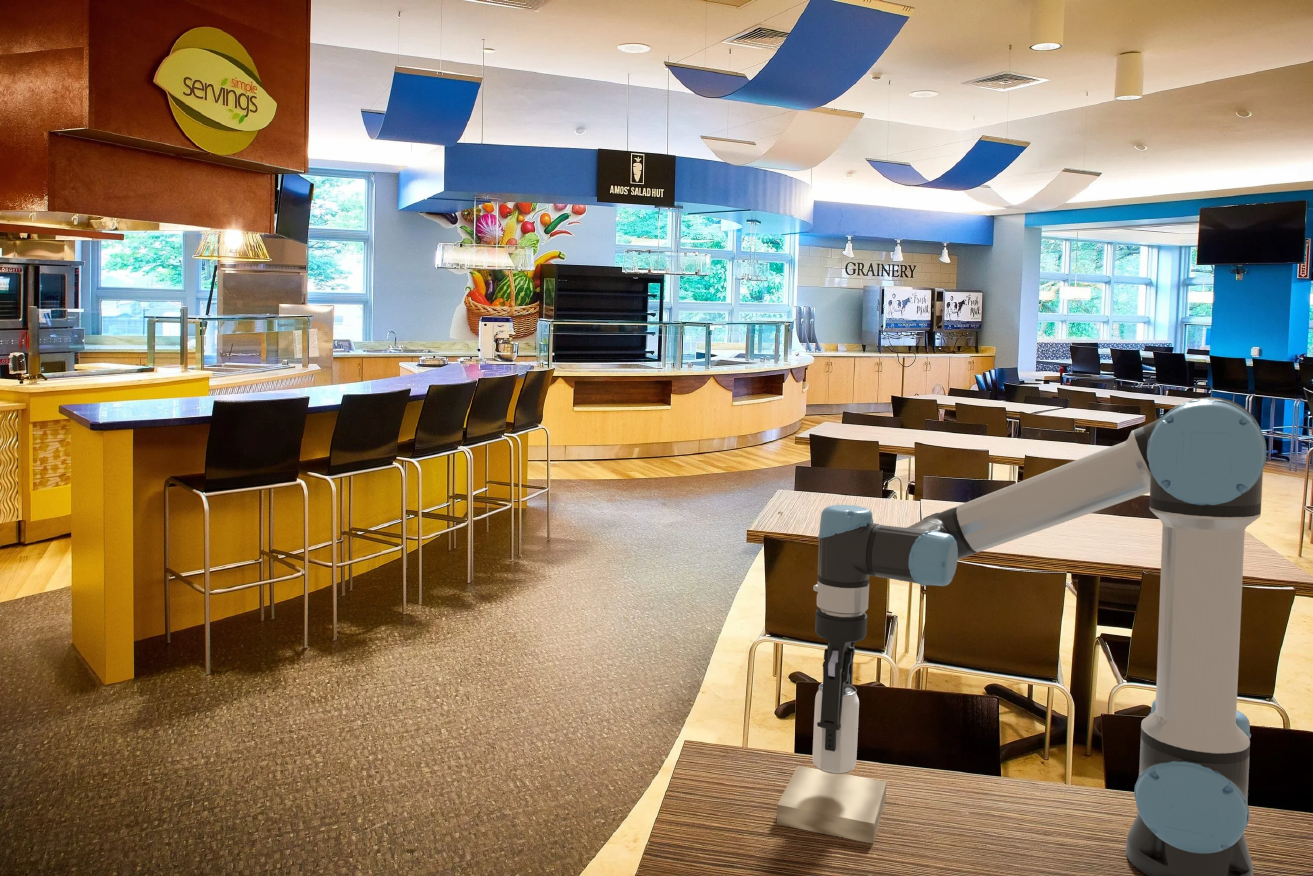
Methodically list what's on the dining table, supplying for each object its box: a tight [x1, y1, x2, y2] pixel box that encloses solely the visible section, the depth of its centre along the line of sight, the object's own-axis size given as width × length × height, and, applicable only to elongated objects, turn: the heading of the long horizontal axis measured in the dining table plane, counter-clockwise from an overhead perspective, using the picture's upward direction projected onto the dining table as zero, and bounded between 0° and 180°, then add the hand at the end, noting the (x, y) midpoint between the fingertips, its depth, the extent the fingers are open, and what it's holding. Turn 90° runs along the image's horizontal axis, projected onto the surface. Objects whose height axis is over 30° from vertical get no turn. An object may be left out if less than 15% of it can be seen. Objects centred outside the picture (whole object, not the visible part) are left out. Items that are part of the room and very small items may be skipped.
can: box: [812, 682, 860, 774], centre depth 141 cm, size 6×6×12 cm
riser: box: [776, 765, 887, 844], centre depth 142 cm, size 14×14×3 cm
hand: (834, 759), depth 141 cm, fingers closed on can, 6 cm apart
